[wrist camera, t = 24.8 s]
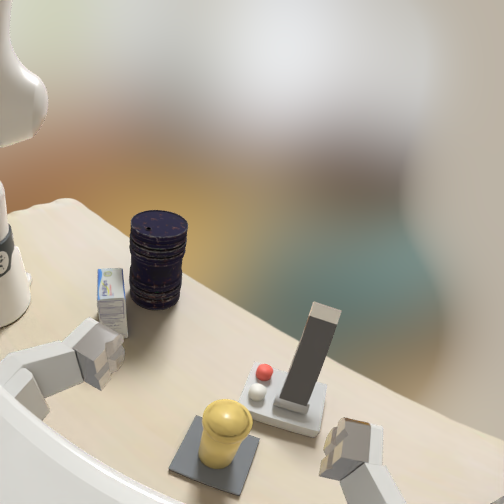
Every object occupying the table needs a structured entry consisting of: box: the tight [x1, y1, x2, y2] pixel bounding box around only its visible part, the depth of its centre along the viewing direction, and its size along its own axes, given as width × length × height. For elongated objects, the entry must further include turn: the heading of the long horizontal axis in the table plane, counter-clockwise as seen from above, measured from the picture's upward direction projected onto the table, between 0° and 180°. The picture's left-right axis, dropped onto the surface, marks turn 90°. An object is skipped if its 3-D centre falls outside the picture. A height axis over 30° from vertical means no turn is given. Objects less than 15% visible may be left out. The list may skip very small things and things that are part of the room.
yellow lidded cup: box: [198, 399, 253, 469], centre depth 31 cm, size 5×5×10 cm
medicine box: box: [97, 268, 128, 338], centre depth 47 cm, size 8×4×9 cm, turn 23°
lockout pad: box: [169, 415, 260, 496], centre depth 33 cm, size 9×9×1 cm
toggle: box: [273, 302, 341, 415], centre depth 41 cm, size 5×2×15 cm
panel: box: [238, 361, 327, 438], centre depth 42 cm, size 12×9×3 cm
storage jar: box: [129, 210, 188, 310], centre depth 54 cm, size 10×10×15 cm
